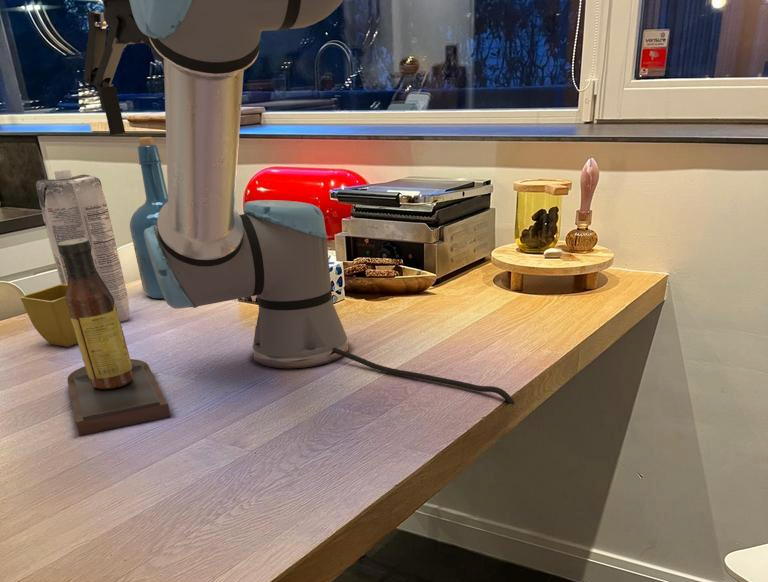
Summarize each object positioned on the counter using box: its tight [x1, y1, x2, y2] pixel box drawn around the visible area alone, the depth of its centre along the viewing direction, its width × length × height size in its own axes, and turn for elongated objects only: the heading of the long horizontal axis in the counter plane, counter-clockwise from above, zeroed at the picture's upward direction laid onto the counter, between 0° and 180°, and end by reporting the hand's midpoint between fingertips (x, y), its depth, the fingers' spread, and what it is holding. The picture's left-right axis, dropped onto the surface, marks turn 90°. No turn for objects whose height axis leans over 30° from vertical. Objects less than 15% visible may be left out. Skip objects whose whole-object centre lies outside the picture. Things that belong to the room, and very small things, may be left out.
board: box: [66, 358, 171, 437], centre depth 114 cm, size 24×12×2 cm, turn 23°
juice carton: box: [35, 168, 130, 323], centre depth 144 cm, size 9×10×27 cm
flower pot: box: [20, 283, 78, 348], centre depth 138 cm, size 9×9×9 cm
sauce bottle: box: [58, 238, 134, 389], centre depth 108 cm, size 6×6×20 cm
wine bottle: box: [129, 136, 168, 300], centre depth 160 cm, size 14×13×30 cm
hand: (152, 132), depth 122 cm, fingers open, 13 cm apart
